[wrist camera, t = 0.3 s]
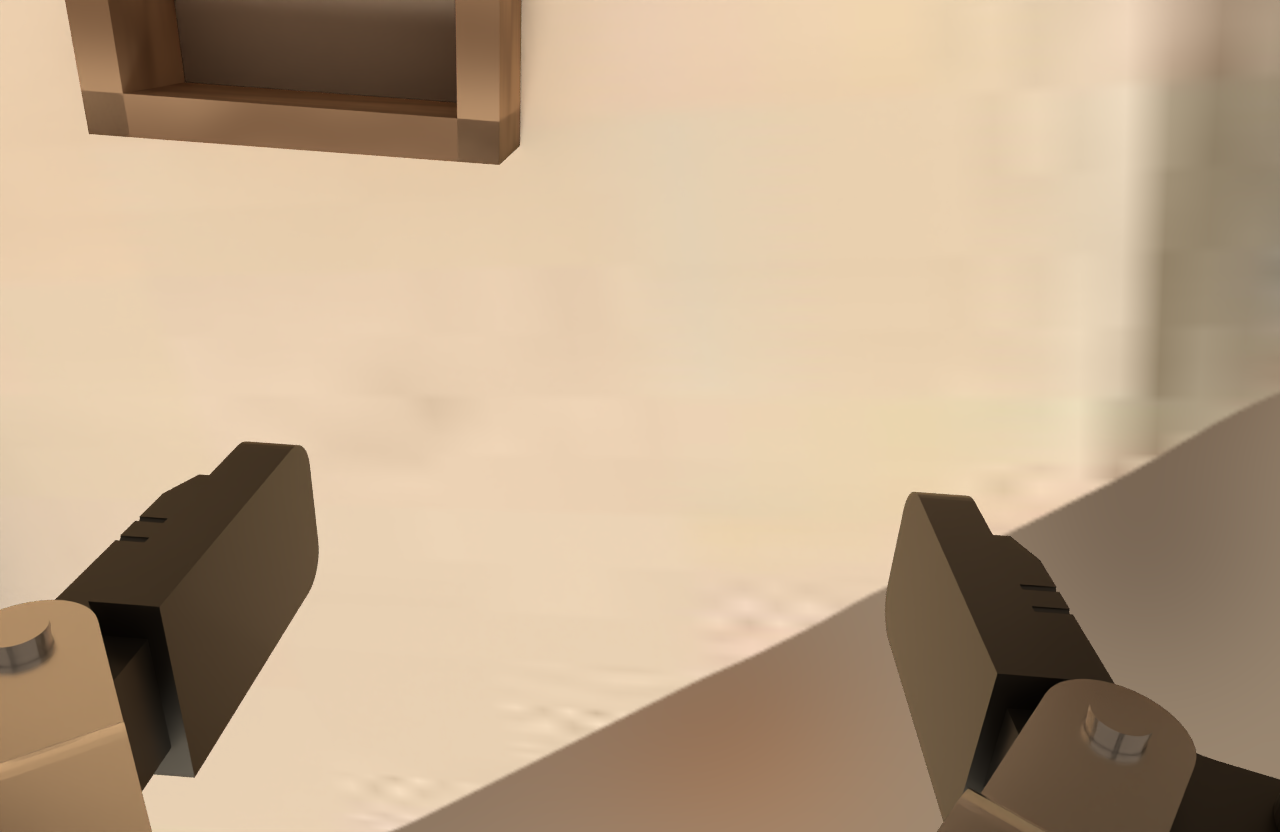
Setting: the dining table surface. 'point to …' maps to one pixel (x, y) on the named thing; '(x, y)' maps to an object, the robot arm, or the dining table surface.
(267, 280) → the dining table surface
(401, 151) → the rectangular wooden frame
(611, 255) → the dining table surface
